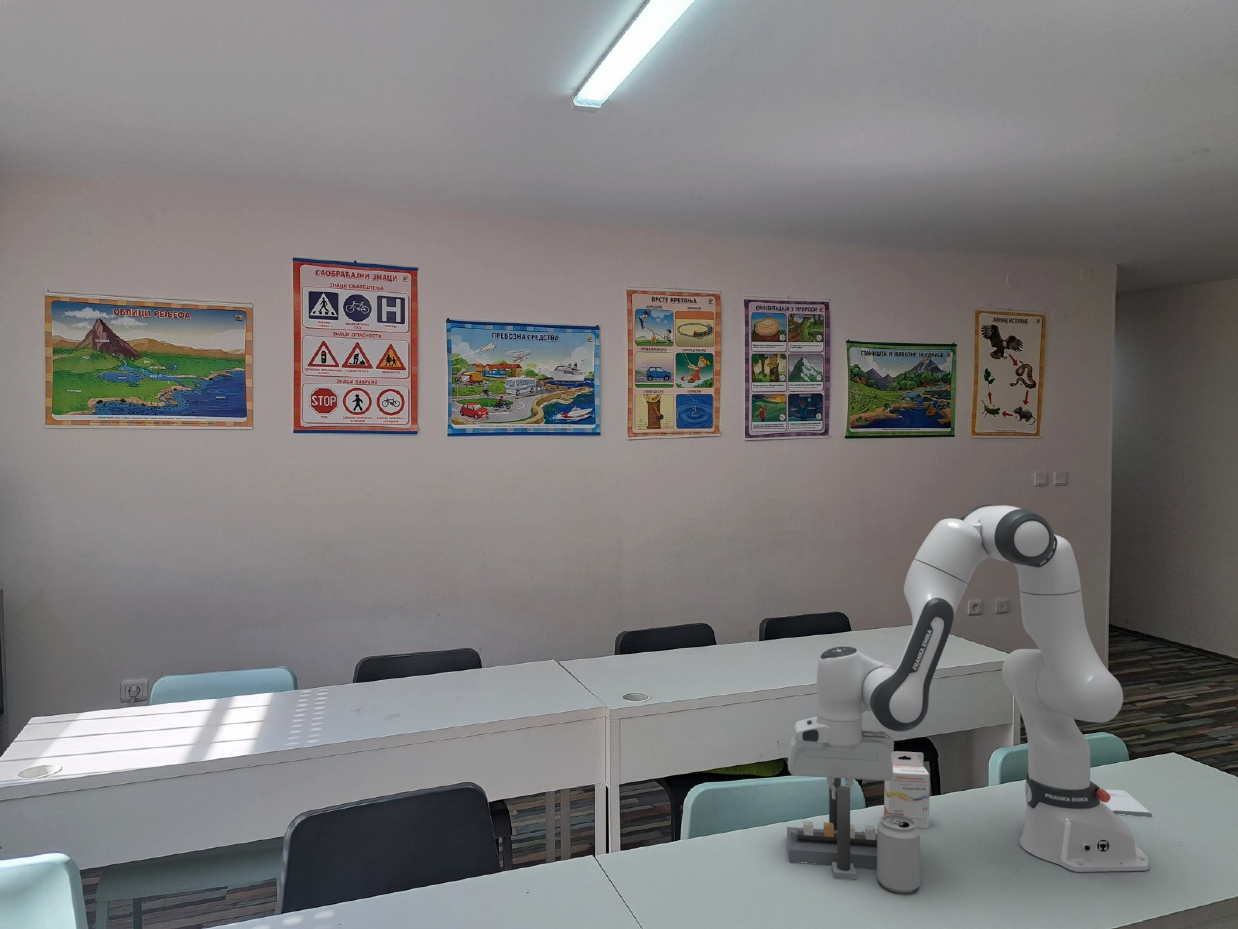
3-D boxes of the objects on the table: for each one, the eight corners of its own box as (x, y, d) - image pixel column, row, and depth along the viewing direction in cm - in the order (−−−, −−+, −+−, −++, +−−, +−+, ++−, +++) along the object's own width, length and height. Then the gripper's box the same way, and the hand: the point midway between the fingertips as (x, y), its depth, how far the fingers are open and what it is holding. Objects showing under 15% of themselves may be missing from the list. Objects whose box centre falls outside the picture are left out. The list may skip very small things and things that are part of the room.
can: (914, 899, 146) (914, 832, 146) (872, 888, 150) (872, 823, 150) (923, 881, 153) (923, 817, 153) (882, 870, 157) (882, 808, 156)
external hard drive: (1111, 817, 181) (1088, 794, 194) (1152, 820, 180) (1126, 797, 193) (1111, 810, 181) (1088, 787, 194) (1152, 812, 180) (1126, 790, 192)
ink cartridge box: (888, 827, 175) (889, 758, 175) (883, 817, 180) (883, 750, 180) (930, 828, 175) (930, 760, 174) (923, 818, 179) (923, 751, 179)
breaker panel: (886, 846, 167) (886, 826, 167) (895, 870, 157) (895, 849, 157) (786, 839, 170) (786, 819, 170) (789, 862, 160) (789, 841, 160)
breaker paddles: (879, 840, 163) (879, 826, 163) (881, 844, 161) (881, 830, 161) (797, 834, 165) (797, 820, 165) (798, 838, 163) (798, 824, 163)
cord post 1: (843, 832, 173) (843, 755, 173) (845, 841, 169) (845, 762, 169) (824, 831, 173) (824, 754, 173) (826, 839, 169) (826, 761, 169)
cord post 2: (853, 869, 157) (853, 785, 157) (855, 880, 153) (855, 793, 153) (831, 868, 158) (831, 784, 158) (833, 878, 154) (833, 792, 154)
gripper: (891, 726, 165) (891, 795, 165) (787, 722, 168) (787, 789, 168) (896, 737, 158) (896, 808, 158) (788, 732, 162) (789, 802, 162)
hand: (839, 798), depth 163 cm, fingers closed
